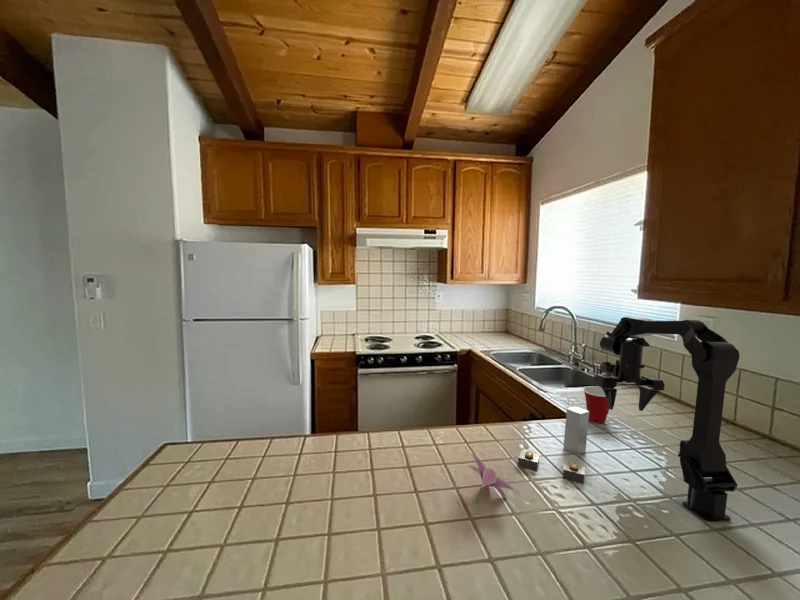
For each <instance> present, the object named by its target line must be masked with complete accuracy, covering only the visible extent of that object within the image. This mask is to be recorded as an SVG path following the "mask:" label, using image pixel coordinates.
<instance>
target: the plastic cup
mask: <svg viewBox="0 0 800 600" xmlns="http://www.w3.org/2000/svg"><path fill="white" fill-rule="evenodd" d="M582 391H583V392H584V397H585V405H586V406H585V407H586V410H587V411H589V420H588V421H589V422H592V423H595V424H605V423H606V421H607V417H608V414H609V412H610V409H609V406H608V403H607V399H606V396H605V393H604V391H603V389H602V388H601V387H599V386H598V385H597V386H595V385H594V386H593V385H592V386H591V385H590V386H589V385H588V386H583V388H582Z"/></svg>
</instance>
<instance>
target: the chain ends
mask: <svg viewBox="0 0 800 600" xmlns="http://www.w3.org/2000/svg"><path fill="white" fill-rule="evenodd" d="M540 457H541V455H540V454H536V453H533V452H531V451H526V450H520V452H519V455H518V460H517V467H519V468H523V469H527V470H530V471H534V472H537V471H538V468H539V465H540ZM585 471H586V466H585V465H581V464H578V463H574V462H569V461H564V463H563V471H562V479H563V480H567V481H570V482H574V483H576V484H577V483H578V484H582V485H584V484H585V473H586V472H585Z"/></svg>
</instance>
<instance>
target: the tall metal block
mask: <svg viewBox="0 0 800 600" xmlns="http://www.w3.org/2000/svg"><path fill="white" fill-rule="evenodd" d="M589 421H590V420H589V411H587V409H583V408H580V407H579V406H572V407H568V408H566V416H565V426H564V427H565V428H564V437H563V445H562V446H563V449H562V450H563V451H565V452H567V453H569V452H570V453H569V454H571V453H572V455H573V454H574V455H573V456H576V457H578V456H581V455H584V454H586V450H587V449H586V448H587V439H588V430H589ZM583 453H584V454H583Z"/></svg>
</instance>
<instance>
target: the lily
mask: <svg viewBox="0 0 800 600" xmlns="http://www.w3.org/2000/svg"><path fill="white" fill-rule="evenodd" d="M471 456H472V457H473V459H474V461H475V464H476V466H475V465H472V464H471V465H468V467H469V468H470V469H472V470H473V471H475V472H476V473H477V474H478V475H479V476H480V478H481V481H482V483H481V484H482V485H481V487H480V489H479V491H478V494H477V497H476V500H475V504H477V503H478V500H479V497H480V494H481V492H482V490H483V488H484V487H492V488H494V489H495V490H497V492H499V493H500V495H502V497H503V498H504V499H506V500H507V495H506V494H505V493H506V492H504V490H503V489H507V490H511V491H513V492H516V490H515V488H514V487H513V486H511V485H510V483H508V482H507V481H505V480H504V479H503V478H501V477H498V476H497V474H496V471H495V470H494V469H493V468H491V467H487V465H485V463H484V462H483V461H482V460H481V459H480V458H479V457H478V456H476V455H475V454H474V453H473V452H472V453H471Z"/></svg>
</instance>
